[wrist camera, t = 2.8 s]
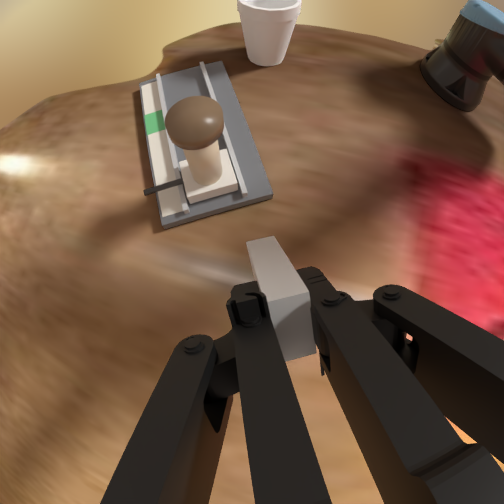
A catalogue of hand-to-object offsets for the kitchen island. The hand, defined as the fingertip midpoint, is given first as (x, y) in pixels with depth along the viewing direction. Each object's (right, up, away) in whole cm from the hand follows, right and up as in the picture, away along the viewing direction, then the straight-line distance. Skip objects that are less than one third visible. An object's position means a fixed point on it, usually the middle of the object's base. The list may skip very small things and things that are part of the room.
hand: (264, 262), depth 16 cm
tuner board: (-9, +18, +24) cm, 31 cm away
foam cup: (+2, +35, +28) cm, 45 cm away
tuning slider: (-8, +9, +20) cm, 23 cm away
